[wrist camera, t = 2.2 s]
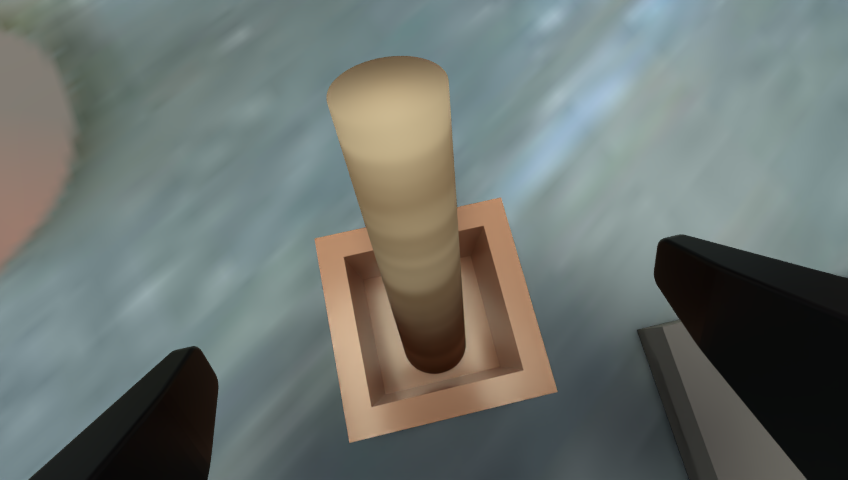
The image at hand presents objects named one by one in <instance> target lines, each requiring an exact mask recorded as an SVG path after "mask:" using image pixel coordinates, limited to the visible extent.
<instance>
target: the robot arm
mask: <svg viewBox="0 0 848 480" xmlns="http://www.w3.org/2000/svg"><path fill="white" fill-rule="evenodd" d="M654 278H655V281H656V284H657V286H658V287H659V289H660V290H661V292H662V293H663V295H664V296H665V298H666V299H667V301H668V302H669V304H670V305H671V307H672V308H673V310H674V311H675V313H676V315H677V316H678V318H679V319H680V321H681V322H682V324H683V325H684V327H685V328H686V330H687V331H688V333H689V334H690V336H691V337H692V339H693V340H694V341H695V343H696V344H697V346H698V347H699V348H700V350H701V351H702V352H703V354H704V355H705V356H706V357H707V359H708V360H709V361H710V362H711V364H712V365H713V366H714V367H715V368H716V370H717V371H718V372H719V373H720V375H721V376H722V377H723V378H724V379H725V381H726V382H727V383H728V384H729V386H730V387H731V388H732V389H733V390H734V392H735V393H736V394H737V395H738V396H739V398H740V399H741V400H742V401H743V403H744V404H745V405H746V406H747V407H748V409H749V410H750V411H751V412H752V414H753V415H754V416H755V417H756V418H757V420H758V421H759V422H760V423H761V425H762V426H763V427H764V428H765V429H766V431H767V432H768V433H769V434H770V435H771V437H772V438H773V439H774V440H775V442H776V443H777V444H778V445H779V446H780V448H781V449H782V450H783V451H784V453H785V454H786V455H787V456H788V457H789V459H790V460H791V461H792V462H793V464H794V465H795V466H796V467H797V468H798V470H799V471H800V472H801V473H802V475H803V476H804V477H805V478H806V479H807V480H848V278H844V277H841V276H837V275H833V274H829V273H826V272H822V271H818V270H814V269H811V268H807V267H803V266H799V265H796V264H792V263H788V262H784V261H781V260H777V259H773V258H769V257H766V256H762V255H758V254H754V253H751V252H747V251H743V250H739V249H736V248H732V247H728V246H725V245H721V244H717V243H713V242H710V241H706V240H702V239H698V238H695V237H691V236H687V235H675V236H671V237H667V238H663V239H661V240H660V241H659V243H658V246H657V253H656V260H655V267H654ZM217 397H218V379H217V376H216V374H215V372H214V371H213V369H212V367H211V366H210V364H209V362H208V361H207V359H206V357H205V356H204V354H203V352H202V351H201V349H199V348H198V347H196V346H191V347H187V348H182V349H178V350H175V351H172V352H171V353H170V354H169V355H168V356H166V357H165V358H164V359H163V360H162V361H161V362H160V363H159V364H157V365H156V366H155V367H154V368H153V369H152V370H151V371H150V372H148V373H147V374H146V375H145V376H144V377H143V378H142V379H141V380H140V381H138V382H137V383H136V384H135V385H134V386H133V387H132V388H131V389H129V390H128V391H127V392H126V393H125V394H124V395H123V396H122V397H120V398H119V399H118V400H117V401H116V402H115V403H114V404H113V405H112V406H110V407H109V408H108V409H107V410H106V411H105V412H104V413H103V414H101V415H100V416H99V417H98V418H97V419H96V420H95V421H94V422H92V423H91V424H90V425H89V426H88V427H87V428H86V429H85V430H83V431H82V432H81V433H80V434H79V435H78V436H77V437H76V438H75V439H73V440H72V441H71V442H70V443H69V444H68V445H67V446H66V447H64V448H63V449H62V450H61V451H60V452H59V453H58V454H57V455H55V456H54V457H53V458H52V459H51V460H50V461H49V462H48V463H47V464H45V465H44V466H43V467H42V468H41V469H40V470H39V471H38V472H36V473H35V474H34V475H33V476H32V477H31V478H30V479H29V480H207V479H208V474H209V469H210V462H211V455H212V446H213V436H214V426H215V417H216V407H217Z"/></svg>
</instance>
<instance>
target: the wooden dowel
mask: <svg viewBox="0 0 848 480" xmlns="http://www.w3.org/2000/svg"><path fill="white" fill-rule="evenodd" d="M327 103H328V106H329V110H330V113H331V116H332V119H333V123H334V126H335V129H336V132H337V135H338V139H339V142H340V145H341V148H342V152H343V155H344V158H345V161H346V164H347V168H348V171H349V174H350V177H351V181H352V184H353V187H354V190H355V193H356V197H357V200H358V203H359V206H360V209H361V213H362V216H363V219H364V222H365V226H366V229H367V232H368V235H369V238H370V242H371V245H372V248H373V251H374V255H375V258H376V261H377V264H378V267H379V271H380V274H381V277H382V280H383V283H384V287H385V290H386V293H387V296H388V300H389V303H390V306H391V309H392V312H393V316H394V319H395V322H396V325H397V329H398V332H399V335H400V338H401V341H402V345H403V348H404V351H405V354H406V357H407V359H408V361H409V362H410V363H411V364H412V365H413V366H414V367H415V368H416V369H418V370H420V371H422V372H425V373H429V374H439V373H443V372H446V371H449V370H451V369H452V368H454V367H455V366H456V365H457V364H458V363H459V362H460V361H461V359H462V357H463V356H464V353H465V349H466V338H465V323H464V308H463V292H462V277H461V262H460V247H459V232H458V217H457V202H456V187H455V172H454V156H453V141H452V126H451V111H450V96H449V81H448V76H447V74H446V72H445V71H444V70H443V69H442V68H441V67H440V66H439V65H437V64H435V63H434V62H431V61H429V60H426V59H422V58H418V57H411V56H392V57H384V58H378V59H374V60H370V61H367V62H364V63H361V64H359V65H356V66H354V67H352V68H350V69H349V70H347V71H345V72H344V73H342V74H341V75H340V76H339V77H337V78H336V79H335V80H334V82H333V83H332V84H331V86H330V87H329V89H328V92H327Z"/></svg>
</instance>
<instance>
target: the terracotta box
mask: <svg viewBox="0 0 848 480" xmlns="http://www.w3.org/2000/svg"><path fill="white" fill-rule="evenodd" d="M457 217H458V232H459V247H460V262H461V277H462V292H463V308H464V323H465V338H466V349H465V353H464V356H463V357H462V359H461V361H460V362H459V363H458V364H457V365H456V366H455V367H454V368H452V369H451V370H449V371H446V372H443V373H439V374H429V373H425V372H422V371H420V370H418V369H416V368H415V367H414V366H413V365H412V364H411V363H410V362H409V361H408V359H407V357H406V354H405V351H404V348H403V345H402V341H401V338H400V335H399V332H398V329H397V325H396V322H395V319H394V316H393V312H392V309H391V306H390V303H389V300H388V296H387V293H386V290H385V287H384V283H383V280H382V277H381V274H380V271H379V267H378V264H377V261H376V258H375V255H374V251H373V248H372V245H371V242H370V238H369V235H368V232H367V229H366V227H365V228H361V229H356V230H352V231H347V232H343V233H338V234H334V235H329V236H324V237H320V238H315V244H316V250H317V255H318V261H319V267H320V273H321V279H322V285H323V291H324V296H325V302H326V308H327V314H328V320H329V326H330V332H331V338H332V343H333V349H334V355H335V361H336V367H337V373H338V379H339V384H340V390H341V396H342V402H343V408H344V414H345V420H346V426H347V431H348V437H349V443H351V442H355V441H359V440H363V439H367V438H372V437H376V436H380V435H384V434H388V433H392V432H396V431H400V430H404V429H408V428H412V427H416V426H420V425H424V424H429V423H433V422H437V421H441V420H445V419H449V418H453V417H457V416H461V415H465V414H469V413H473V412H477V411H481V410H486V409H490V408H494V407H498V406H502V405H506V404H510V403H514V402H518V401H522V400H526V399H530V398H534V397H538V396H543V395H547V394H551V393H555V392H558V391H557V388H556V384H555V381H554V377H553V374H552V371H551V367H550V364H549V360H548V357H547V354H546V350H545V347H544V343H543V340H542V336H541V333H540V330H539V326H538V323H537V319H536V316H535V312H534V309H533V306H532V302H531V299H530V295H529V292H528V289H527V285H526V282H525V278H524V275H523V271H522V268H521V265H520V261H519V258H518V254H517V251H516V247H515V244H514V241H513V237H512V234H511V230H510V227H509V224H508V220H507V217H506V213H505V210H504V206H503V203H502V200H501V198H497V199H492V200H488V201H483V202H479V203H474V204H469V205H465V206H460V207H457Z"/></svg>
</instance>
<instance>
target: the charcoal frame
mask: <svg viewBox="0 0 848 480" xmlns="http://www.w3.org/2000/svg"><path fill="white" fill-rule="evenodd" d="M637 331H638V334H639V336H640V339H641V342H642V345H643V348H644V351H645V354H646V356H647V359H648V362H649V365H650V368H651V371H652V374H653V376H654V379H655V382H656V385H657V388H658V391H659V394H660V397H661V399H662V402H663V405H664V408H665V411H666V414H667V417H668V419H669V422H670V425H671V428H672V431H673V434H674V437H675V439H676V442H677V445H678V448H679V451H680V454H681V457H682V460H683V462H684V465H685V468H686V471H687V474H688V477H689V480H807V479H806V478H805V477H804V476H803V475H802V473H801V472H800V471H799V470H798V468H797V467H796V466H795V465H794V464H793V462H792V461H791V460H790V459H789V457H788V456H787V455H786V454H785V453H784V451H783V450H782V449H781V448H780V446H779V445H778V444H777V443H776V442H775V440H774V439H773V438H772V437H771V435H770V434H769V433H768V432H767V431H766V429H765V428H764V427H763V426H762V425H761V423H760V422H759V421H758V420H757V418H756V417H755V416H754V415H753V414H752V412H751V411H750V410H749V409H748V407H747V406H746V405H745V404H744V403H743V401H742V400H741V399H740V398H739V396H738V395H737V394H736V393H735V392H734V390H733V389H732V388H731V387H730V386H729V384H728V383H727V382H726V381H725V379H724V378H723V377H722V376H721V375H720V373H719V372H718V371H717V370H716V368H715V367H714V366H713V365H712V364H711V362H710V361H709V360H708V359H707V357H706V356H705V355H704V354H703V352H702V351H701V350H700V348H699V347H698V346H697V344H696V343H695V341H694V340H693V339H692V337H691V336H690V334H689V333H688V331H687V330H686V328H685V327H684V325H683V324H682V322H681V321H680V320H676V321H671V322H667V323H663V324H659V325H655V326H651V327H646V328H642V329H638V330H637Z"/></svg>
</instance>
